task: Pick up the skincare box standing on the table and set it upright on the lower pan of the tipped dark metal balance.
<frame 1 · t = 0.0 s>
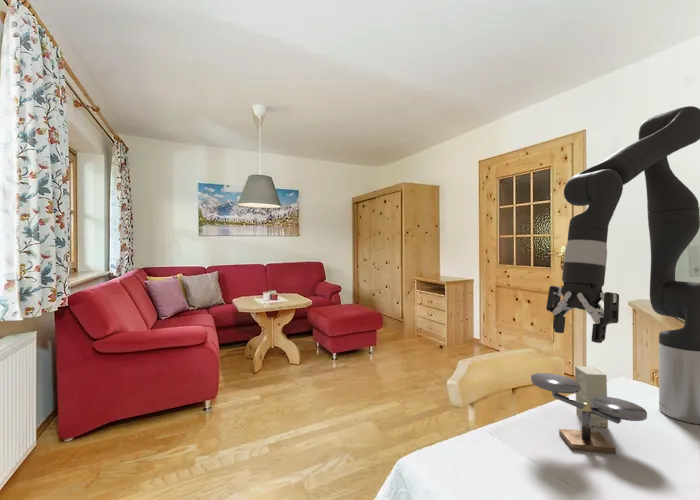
hand: (576, 337, 71), 22 cm above the table, tool pointing down, fingers open, 8 cm apart
skincare box: (590, 421, 80), on the table
balance: (586, 443, 70), on the table
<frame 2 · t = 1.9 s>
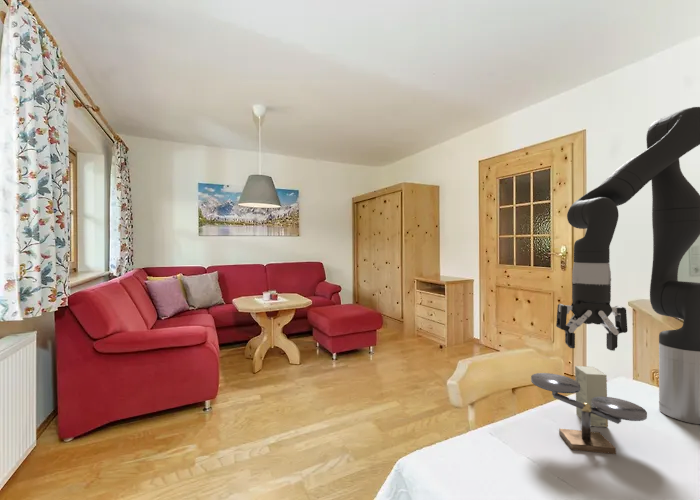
hand: (590, 348, 80), 17 cm above the table, tool pointing down, fingers open, 8 cm apart
nothing on the table moved.
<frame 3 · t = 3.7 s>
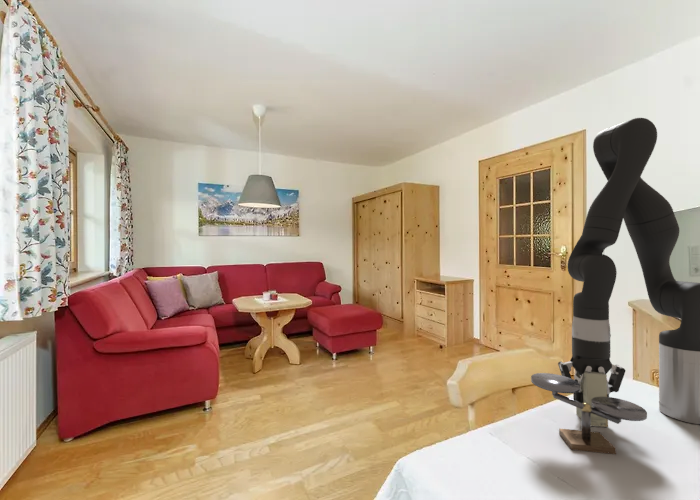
hand: (590, 406, 80), 3 cm above the table, tool pointing down, fingers closed on skincare box, 4 cm apart
skincare box: (590, 421, 80), on the table, touching gripper
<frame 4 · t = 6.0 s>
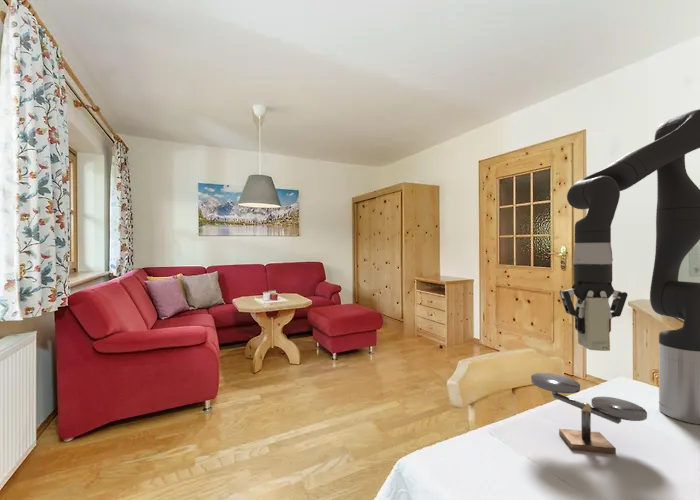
hand: (592, 333, 79), 21 cm above the table, tool pointing down, fingers closed on skincare box, 4 cm apart
skincare box: (592, 348, 79), point 18 cm above the table, touching gripper
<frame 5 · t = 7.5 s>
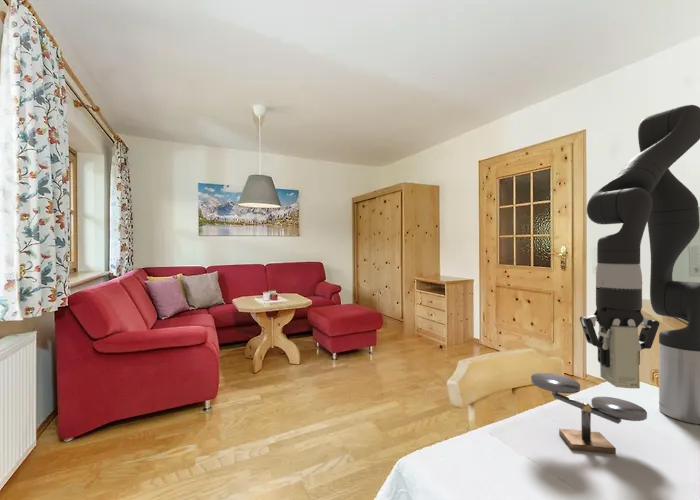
hand: (618, 366, 69), 17 cm above the table, tool pointing down, fingers closed on skincare box, 4 cm apart
skincare box: (618, 383, 69), point 13 cm above the table, touching gripper
when the fingers open (13 cm above the table, at t = 8.5 s): skincare box drops 1 cm, resting on balance.
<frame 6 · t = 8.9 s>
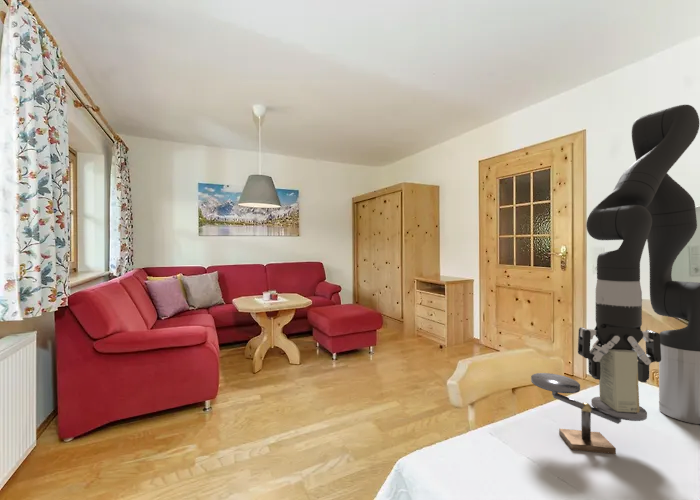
hand: (618, 379, 69), 14 cm above the table, tool pointing down, fingers open, 8 cm apart
skincare box: (617, 406, 69), point 8 cm above the table, touching balance
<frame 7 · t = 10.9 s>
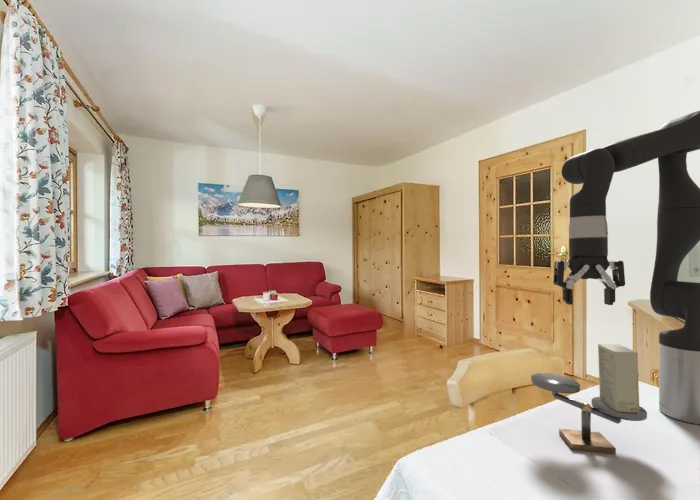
hand: (588, 304, 79), 28 cm above the table, tool pointing down, fingers open, 8 cm apart
nothing on the table moved.
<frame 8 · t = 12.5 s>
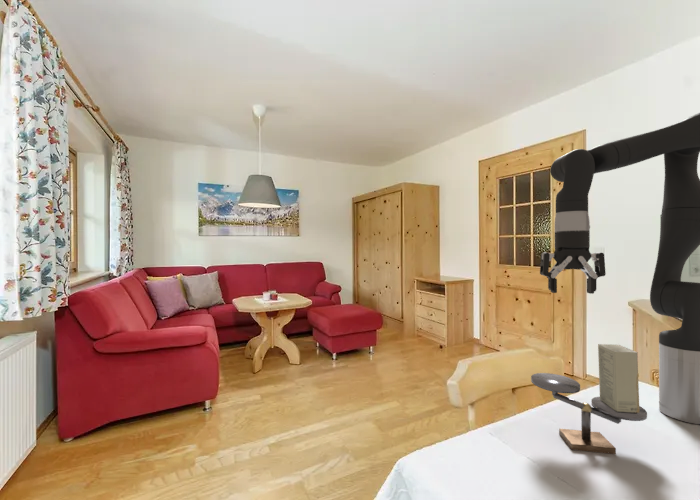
hand: (571, 292, 85), 30 cm above the table, tool pointing down, fingers open, 8 cm apart
nothing on the table moved.
at the end: skincare box 0.1 cm from the target spot on the balance, point 8.3 cm above the balance's base; skincare box tilted 0°; the gripper is holding nothing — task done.
